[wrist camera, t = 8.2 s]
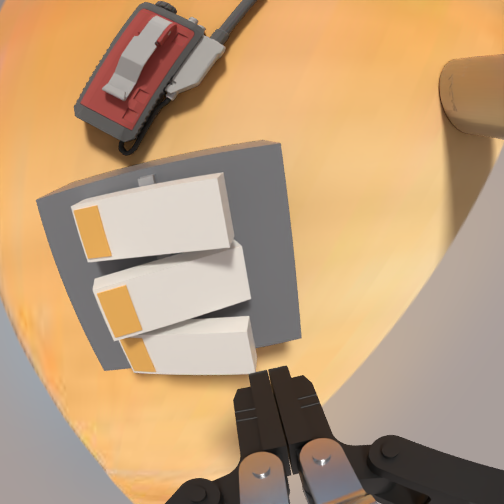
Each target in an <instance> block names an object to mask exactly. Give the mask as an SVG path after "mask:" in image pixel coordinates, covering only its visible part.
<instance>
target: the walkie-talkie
mask: <svg viewBox="0 0 504 504" xmlns="http://www.w3.org/2000/svg"><path fill="white" fill-rule="evenodd" d="M256 1H257V0H242V2H241V3H240V4H239V5H238V6H237V7H236V9H235V10H234V11H233V12H232V13H231V15H230V16H229V17H228V18H227V20H226V21H225V22H224V23H223V25H222V26H221V27H220V28H219V29H216V30H215V32H214V33H213V34H212V36H211V37H210V38H209V37H207V36H205V35H204V31H205V30H206V29H205V28H204V27H203V26H201V25H197V23H198V20H197V19H195V18H193V17H190V18H189V19H188V20H187V19H185V18H183V17H181V16H179V15H176V13H177V10H176V9H175V8H174V7H173V6H172V5H170V4H169V3H166V2H163V1H158V2H157V3H156V4H155V5H154V4H151V3H148V2H144V3H142V4H140V5H139V6H138V7H137V8H136V10H135V11H134V12H133V14H132V15H131V16H130V18H129V19H128V20H127V22H126V23H125V24H124V26H123V27H122V28H121V30H120V31H119V33H118V34H117V36H116V37H115V38H114V40H113V41H112V43H111V44H110V47H109V49H107V50H106V51H107V52H106V53H105V55H103V58H102V60H100V61H99V62H100V63H99V64H98V66H96V69H95V71H93V74H92V76H91V77H90V78H89V81H88V82H87V83H86V86H85V88H83V92H82V93H81V94H80V97H79V99H78V100H77V103H76V105H74V111H75V116H76V117H77V118H79V119H81V120H83V121H85V122H87V123H89V124H91V125H92V126H94V127H96V128H98V129H100V130H102V131H104V132H106V133H107V134H109V135H111V136H113V137H115V138H117V139H119V140H120V142H119V151H120V152H121V153H122V154H123V155H131V154H132V153H134V152H135V151H136V150H137V148H138V146H139V145H140V143H141V141H142V139H143V137H144V136H145V134H146V132H147V130H148V129H149V127H150V125H151V124H152V122H153V120H154V119H155V117H156V115H157V114H158V112H159V111H160V109H161V108H162V107H163V106H165V105H167V104H168V103H169V102H170V101H171V100H173V101H174V99H175V98H176V96H177V94H179V93H181V92H184V91H186V90H189V89H191V88H194V87H196V86H199V84H200V83H201V81H202V80H203V79H204V77H205V76H206V74H207V73H208V71H209V70H210V69H211V67H212V66H213V65H214V63H215V62H216V60H217V59H219V58H221V56H222V55H223V54H224V52H225V49H226V47H225V46H223V44H224V43H225V42H226V40H227V39H228V38H229V34H230V32H231V31H232V30H233V29H234V27H235V26H236V25H237V24H238V22H239V21H240V20H241V19H242V18H243V16H244V15H245V14H246V13H247V12H248V10H249V9H250V8H251V7H252V6H253V5H254V3H255V2H256ZM166 92H167V95H166ZM164 96H166V97H167V98H166V99H165V100H164V101H163V102H161V101H162V100H163V97H164ZM160 102H161V103H160ZM135 139H137V140H136V142H135V144H134V145H133V147H132V148H131V149H130V150H129V151H127V150H125V149H124V143H125V142H127V141H132V140H135Z"/></svg>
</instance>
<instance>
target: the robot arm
mask: <svg viewBox="0 0 504 504" xmlns="http://www.w3.org/2000/svg"><path fill="white" fill-rule="evenodd" d="M439 87H440V97H441V102H442V105H443V108H444V111H445V113H446V115H447V117H448V118H449V120H450V121H451V123H452V124H453V125H454V126H455V127H456V128H457V129H458V130H460V131H461V132H464V133H467V134H474V135H481V136H487V137H492V138H498V139H503V140H504V54H500V55H488V56H477V57H468V58H461V59H454V60H451V61H449V62H448V63H447V64H446V65H445V66H444V68H443V70H442V73H441V76H440V84H439ZM268 371H269V376H268V372H267V370H264V371H259V372H255V373H250V374H249V380H250V385H251V387H247V388H242V389H237V392H236V395H235V397H234V400H233V401H234V409H235V417H236V424H237V432H238V439H239V447H240V454H241V457H240V461H239V464H238V466H237V467H236V468H235V469H234V470H233V471H232V472H231V473H229V474H228V475H226V476H223V477H221V478H219V479H216V480H214V481H210V480H207V479H203V478H196V479H191V480H189V481H187V482H185V483H184V484H182V485H181V486H180V488H179V489H178V490H177V491H176V492H175V493H174V494H173V495H172V497H171V498H170V499H169V500H168V501H167V502H166V503H165V504H290V500H289V494H290V489H289V484H288V478H287V476H289V475H291V470H290V464H291V469H292V472H293V474H298V473H299V475H300V478H301V482H302V487H303V492H304V495H305V497H306V500H307V502H308V504H377V502H379V503H381V504H504V470H500V469H496V468H493V467H489V466H485V465H481V464H478V463H475V462H472V461H468V460H465V459H462V458H458V457H455V456H452V455H449V454H446V453H443V452H440V451H437V450H435V449H432V448H429V447H426V446H423V445H421V444H418V443H415V442H412V441H410V440H407V439H405V438H402V437H399V436H395V435H387V436H383V437H381V438H379V439H377V440H376V441H375V442H374V443H373V444H372V445H359V446H352V445H346V444H343V443H341V442H340V441H338V440H337V439H336V438H335V437H334V436H333V434H332V432H331V429H330V427H329V424H328V422H327V419H326V417H325V414H324V412H323V409H322V407H321V404H320V402H319V399H318V397H317V395H316V392H315V389H314V387H313V384H312V383H311V382H310V381H309V380H308V379H307V378H306V377H305V376H304V375H302V376H298V377H293V378H291V376H290V373H289V370H288V367H287V366H282V367H278V368H273V369H269V370H268ZM269 377H270V380H269ZM270 382H271V384H270ZM288 457H289V458H288ZM289 461H290V464H289ZM376 501H377V502H376Z"/></svg>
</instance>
